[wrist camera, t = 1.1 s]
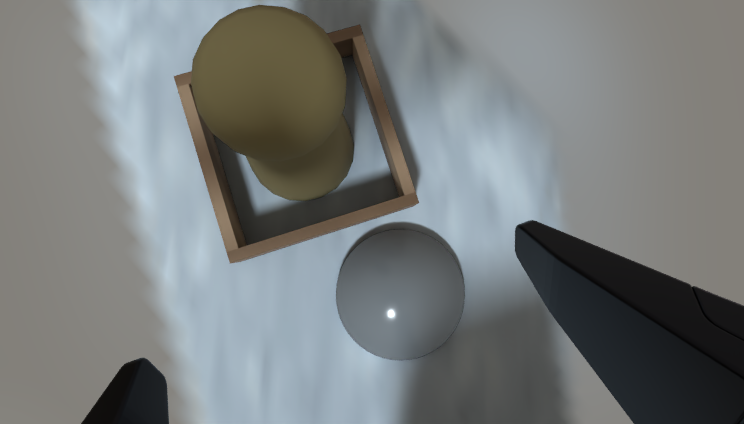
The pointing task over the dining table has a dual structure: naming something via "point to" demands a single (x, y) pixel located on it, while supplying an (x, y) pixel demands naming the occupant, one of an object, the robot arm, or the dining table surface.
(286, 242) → the frame
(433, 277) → the grey round disc
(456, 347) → the dining table surface
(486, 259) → the dining table surface
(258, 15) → the cork
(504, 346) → the dining table surface
